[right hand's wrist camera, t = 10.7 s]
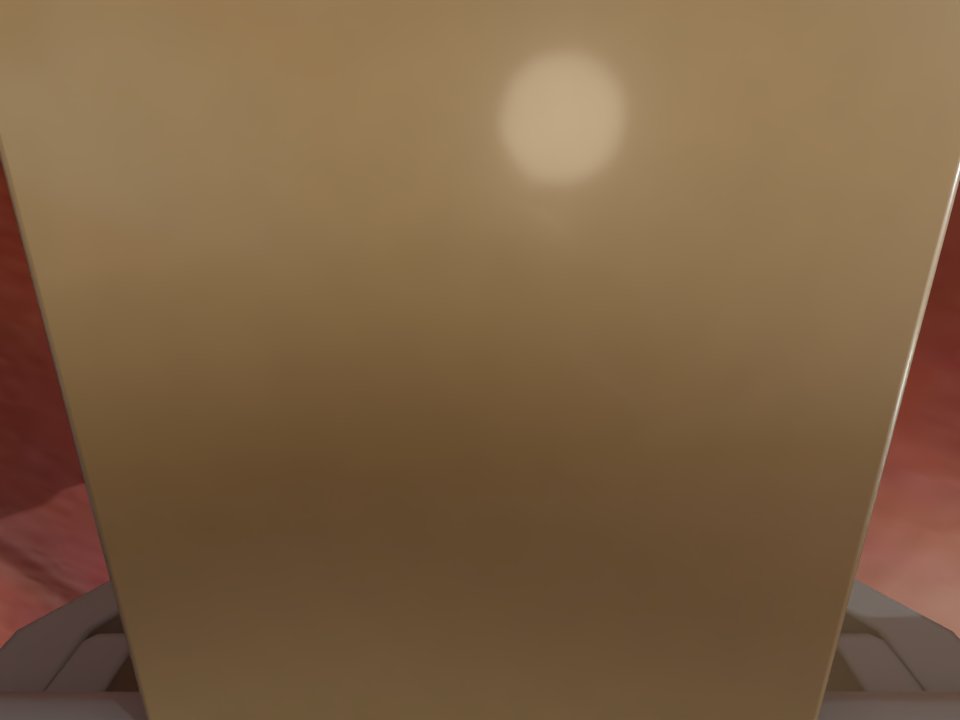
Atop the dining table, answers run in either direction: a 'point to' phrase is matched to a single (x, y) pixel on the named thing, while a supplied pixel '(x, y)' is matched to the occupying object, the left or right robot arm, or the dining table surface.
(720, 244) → the bar
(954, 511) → the dining table surface
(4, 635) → the dining table surface
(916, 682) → the right robot arm
